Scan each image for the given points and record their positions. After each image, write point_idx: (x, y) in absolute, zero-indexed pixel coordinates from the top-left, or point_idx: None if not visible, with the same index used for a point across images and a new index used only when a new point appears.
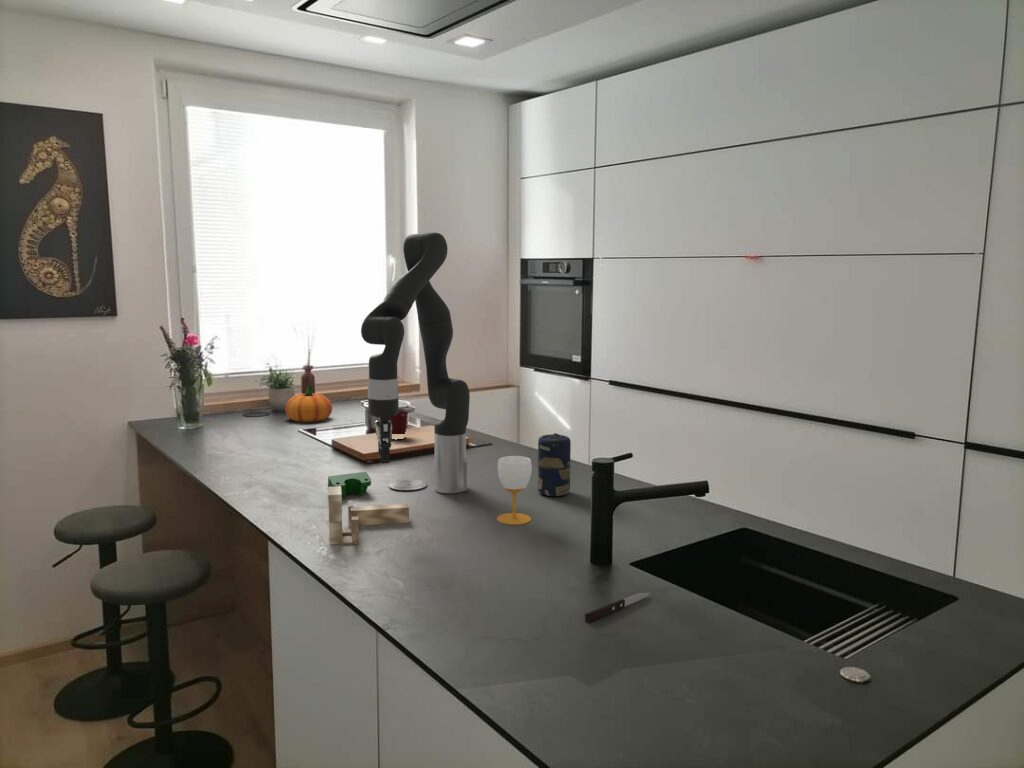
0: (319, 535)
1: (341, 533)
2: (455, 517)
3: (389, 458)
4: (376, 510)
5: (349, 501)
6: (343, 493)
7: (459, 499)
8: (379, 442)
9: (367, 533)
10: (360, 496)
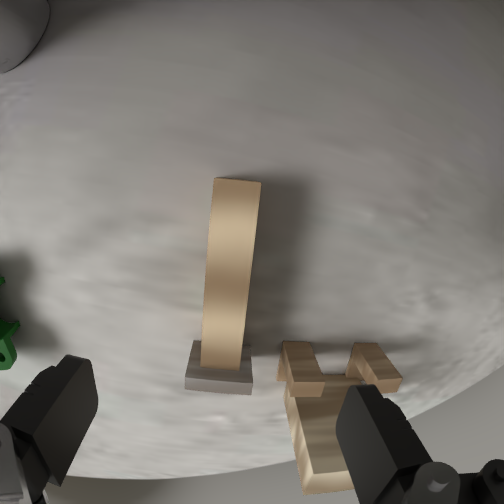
0: (281, 413)
1: None
2: (259, 35)
3: (385, 402)
4: (246, 302)
5: (194, 386)
6: (14, 332)
7: (96, 5)
8: (58, 474)
9: (313, 318)
10: (4, 281)
